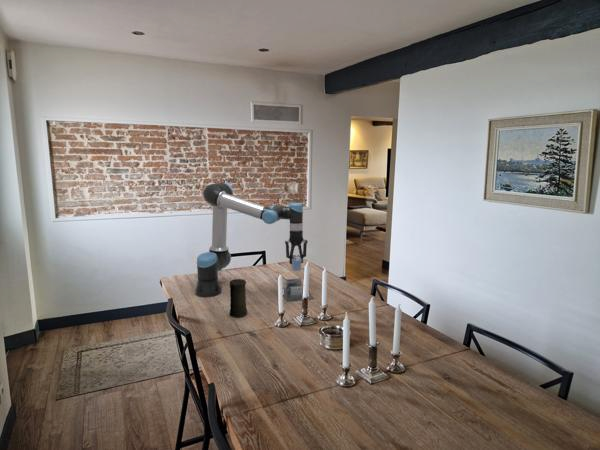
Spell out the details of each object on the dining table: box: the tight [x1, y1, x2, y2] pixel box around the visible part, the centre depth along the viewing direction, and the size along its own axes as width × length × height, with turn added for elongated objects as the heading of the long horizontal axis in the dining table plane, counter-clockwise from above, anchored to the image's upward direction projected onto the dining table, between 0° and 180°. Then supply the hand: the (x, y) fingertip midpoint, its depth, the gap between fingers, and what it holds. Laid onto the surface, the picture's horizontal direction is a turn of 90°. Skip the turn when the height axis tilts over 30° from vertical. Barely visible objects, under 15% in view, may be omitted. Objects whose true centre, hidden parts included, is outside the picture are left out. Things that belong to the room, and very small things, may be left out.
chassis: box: [283, 277, 315, 303], centre depth 233 cm, size 20×16×8 cm
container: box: [229, 278, 248, 319], centre depth 203 cm, size 9×9×18 cm
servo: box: [292, 254, 302, 272], centre depth 230 cm, size 9×4×9 cm, turn 15°
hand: (296, 268), depth 231 cm, fingers closed on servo, 4 cm apart
